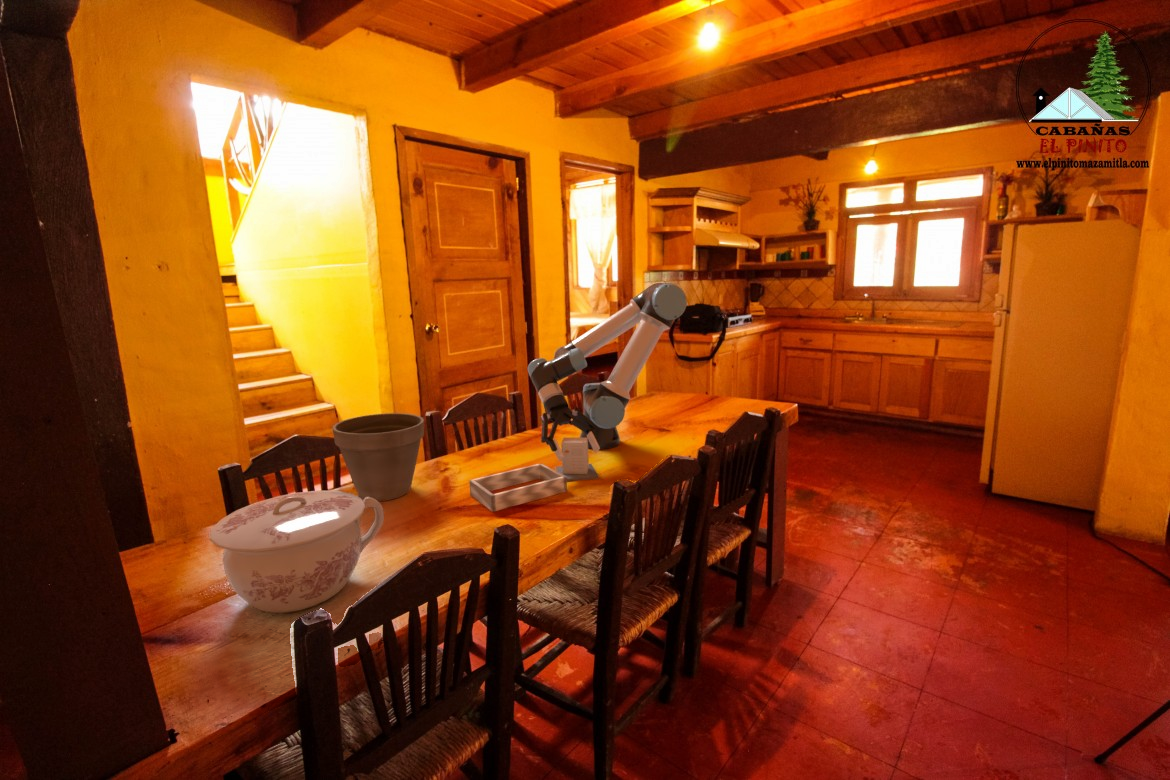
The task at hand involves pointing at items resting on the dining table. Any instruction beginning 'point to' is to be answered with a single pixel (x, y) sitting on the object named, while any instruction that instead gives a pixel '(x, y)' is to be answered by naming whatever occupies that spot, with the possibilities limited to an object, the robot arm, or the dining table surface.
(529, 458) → the dining table surface
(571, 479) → the plate
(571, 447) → the small box
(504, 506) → the crate
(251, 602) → the chamber pot
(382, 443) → the plant pot
